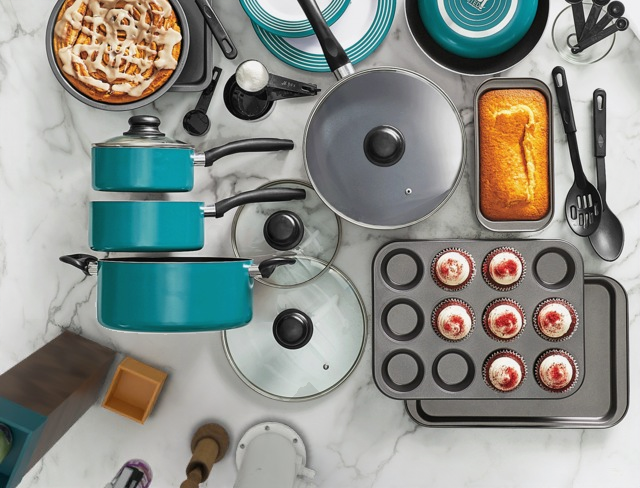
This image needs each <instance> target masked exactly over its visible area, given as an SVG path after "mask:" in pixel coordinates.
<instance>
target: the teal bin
mask: <svg viewBox="0 0 640 488" xmlns="http://www.w3.org/2000/svg"><path fill="white" fill-rule="evenodd" d="M47 420H48V417H46V416H43V415H41V414H39V413H37V412H34V411H32V410H30V409H28V408H25V407H23V406H21V405H19V404H16V403H14V402H12V401H9V400H7V399H5V398H3V397H0V422H2V423H4V424H5V425H6V426H7V427H8V428H9V429H10V431H11V434H12V438H13V443H12V447H11V450H10V452H9V453H8V455H7V456H6V457H5V458H4V460H3V461H2V462H1V463H0V488H17V487H18V486H19V485H20V484H21V482H22V481H23V479H24V477H25V476H24V474H25V471H26V469H27V467H28V464H29V462H30V460H31V457H32V455H33V453H34V450H35V448H36V446H37V443H38V441H39V439H40V436H41V434H42V432H43V429H44V427H45V425H46V422H47ZM23 476H24V477H23Z"/></svg>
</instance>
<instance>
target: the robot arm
mask: <svg viewBox="0 0 640 488" xmlns="http://www.w3.org/2000/svg"><path fill="white" fill-rule="evenodd" d="M306 463H307V451H306V446H305V444H304V441H303V439H302V438H301V436H300V435H299V433H297V431H296V430H294V429H293V428H292V427H290V426H289V425H286V424H285V423H281V422H277V421H265V422H261V423H257V424H255V425H253V426H252V427H250V428H248V430H246V431H245V433H244V434H243V435H242V436H241V438H240V440H239V442H238V443H237V447H236V452H235V465H236V469H237V474H236V477H235V480H234V483H233V485H232V488H317V487H318V485H317V484H314V483H312V482H310V481H306V480H304V479H302V476H305V477H306V478H308V479H311V480H314V478H315V476H316V470H314V469H312V468H308V467H307V466H306ZM143 476H144V473H143V472H141V471H139V469H138V468H136V467H133V466H131V467H130V466H128V465H126V466H125V467H124V469H123V470H122V471H121V473H120V474H119V475H118V477H117V478H116V481H115V482H114V484H112V482H111V481H109V482H107V483H106V484H105V485H104V486H103V488H136V487H137V486H138V484H139V483H140V481H141V479H142V478H143Z"/></svg>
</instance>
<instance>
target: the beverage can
mask: <svg viewBox="0 0 640 488" xmlns="http://www.w3.org/2000/svg"><path fill="white" fill-rule="evenodd" d="M12 443H13V438H12V434H11V431H10V429H9V428H8V427H7V426H6V425H5V424H4V423H2V422H0V463H1V462H2V461H3V460H4V458H5V457H6V456H7V455H8V453H9V452H10V450H11V447H12Z"/></svg>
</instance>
